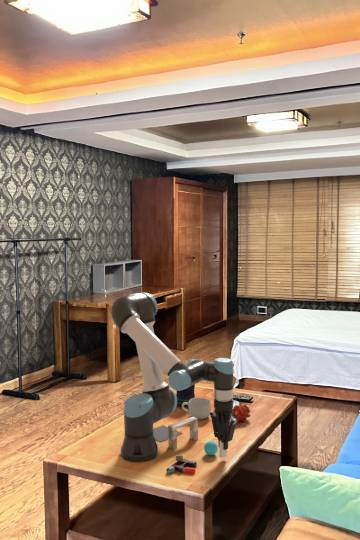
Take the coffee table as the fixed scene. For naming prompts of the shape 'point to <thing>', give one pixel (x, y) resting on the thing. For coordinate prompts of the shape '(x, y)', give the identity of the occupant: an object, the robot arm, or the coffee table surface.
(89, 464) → the coffee table surface
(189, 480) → the coffee table surface
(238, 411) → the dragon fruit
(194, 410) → the teacup
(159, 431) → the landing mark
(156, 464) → the coffee table surface
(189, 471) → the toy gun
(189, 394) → the storage jar
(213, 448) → the ball
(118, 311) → the robot arm
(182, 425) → the bridge
